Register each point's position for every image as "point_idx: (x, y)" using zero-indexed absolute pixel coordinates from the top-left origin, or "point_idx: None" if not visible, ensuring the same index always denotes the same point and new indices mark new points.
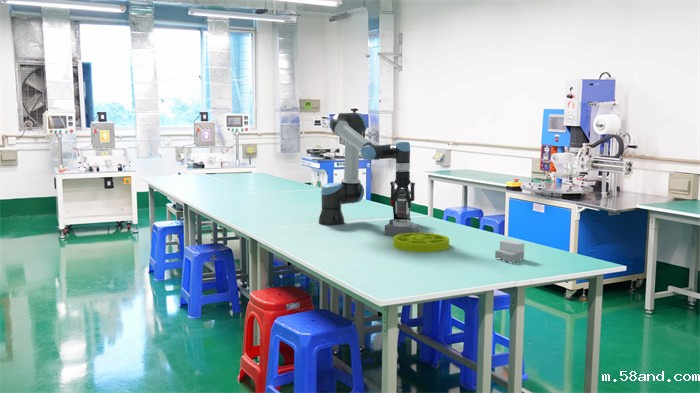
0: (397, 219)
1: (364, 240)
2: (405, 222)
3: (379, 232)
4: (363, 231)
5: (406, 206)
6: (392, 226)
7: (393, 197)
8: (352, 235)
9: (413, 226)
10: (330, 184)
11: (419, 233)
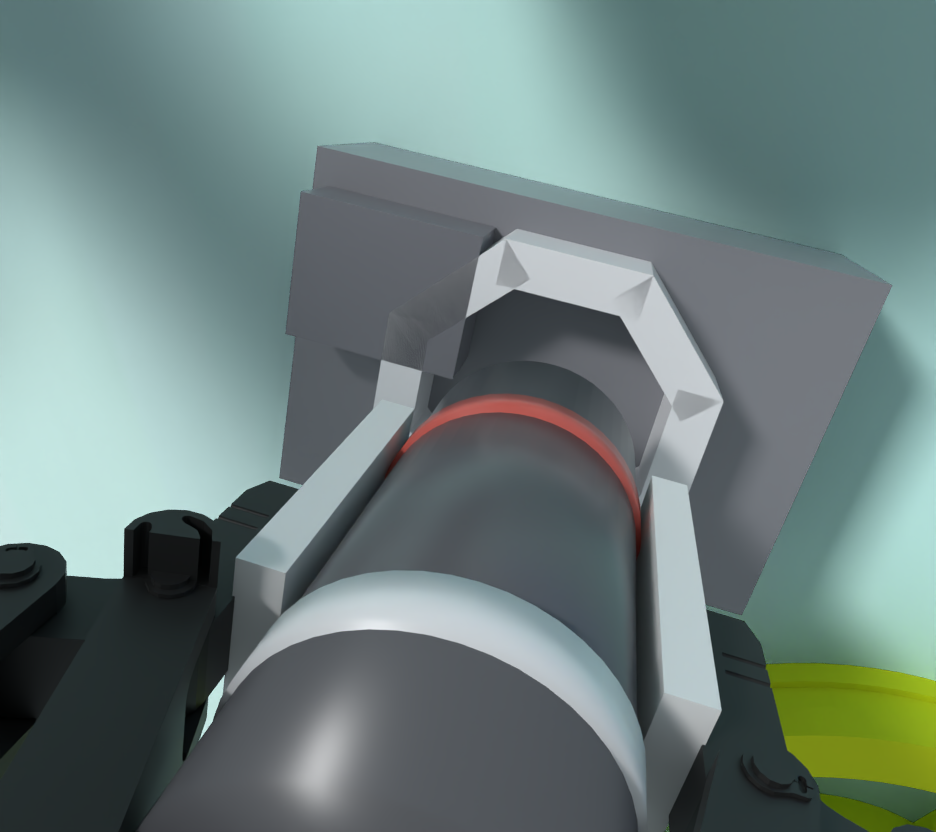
0: (419, 227)
1: (209, 705)
2: None
3: (235, 282)
4: (27, 252)
5: None
6: None
7: (5, 634)
8: (15, 499)
9: (755, 499)
10: None
11: (828, 774)
